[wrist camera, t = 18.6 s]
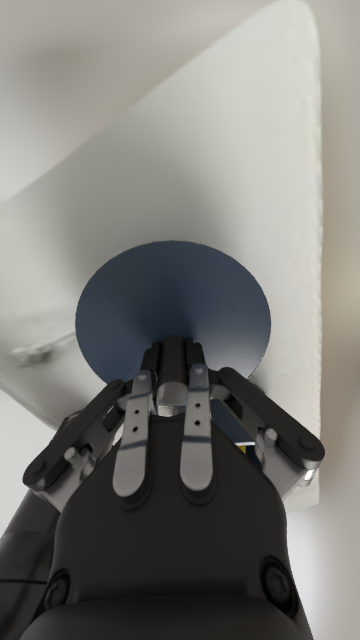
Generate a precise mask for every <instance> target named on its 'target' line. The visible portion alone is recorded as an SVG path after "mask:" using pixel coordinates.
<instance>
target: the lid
mask: <svg viewBox="0 0 360 640" xmlns="http://www.w3.org/2000/svg"><path fill="white" fill-rule="evenodd" d="M75 328H76V336H77V340H78V344H79V347H80V349H81V352H82V354H83V356H84V358H85V360H86V361H87V363H88V364H89V366H90V367H91V368H92V370H93V371H94V372H95V373H96V374H97V375H98V376H99V377H100V378H101V379H102V380H103V381H104V382H105V383H107V384H109V383H110V382H111V381H113V380H116V379H121V380H123V381H124V382H127V381H129V380H132V379H134V376H135V374H136V373H137V372H139V371H140V367H141V364H142V360H143V356H144V352H145V351H146V350H147V349H148V348H151V347H152V343H153V342H161V346H162V348H161V356H160V364H159V372H158V379H157V387H156V396H157V398H158V405H164V406H183V405H186V401H187V390H188V389H189V380H190V376H189V372H188V366H187V355H186V342H185V338H193V343H196V342H199V343H200V344H201V345H202V348H203V353H204V357H205V361H206V365H207V367H208V368H210V369H212V370H216V371H219V370H220V369H221V368H223V367H231V368H233V369H235V370H236V371H237V372H238V373H240V374H241V375H242V376H243V377H244V378H248V376H249V375H250V374H251V373H252V372H253V371H254V370H255V368H256V367H257V366H258V364H259V363H260V361H261V359H262V357H263V355H264V354H265V351H266V348H267V346H268V342H269V338H270V332H271V317H270V310H269V306H268V302H267V299H266V297H265V295H264V293H263V290H262V288H261V287H260V285H259V284H258V282H257V281H256V279H255V278H254V277H253V276H252V275H251V273H250V272H249V271H248V270H247V269H246V268H245V267H244V266H242V265H241V264H240V263H239V262H237V261H236V260H235V259H233V258H232V257H230V256H228V255H226V254H224V253H223V252H221V251H219V250H216V249H214V248H211V247H208V246H206V245H203V244H198V243H193V242H188V241H174V240H170V241H158V242H152V243H148V244H143V245H139V246H137V247H134V248H132V249H129V250H127V251H124V252H122V253H121V254H119V255H117V256H116V257H114V258H112V259H110V260H109V261H108V262H107V263H106V264H104V265H103V266H102V267H101V268H99V270H98V271H97V272H96V273H95V274H94V275H93V276H92V277H91V279H90V280H89V282H88V283H87V285H86V286H85V288H84V290H83V292H82V294H81V297H80V299H79V302H78V306H77V311H76V320H75ZM211 399H214V398H211V397H210V400H211Z"/></svg>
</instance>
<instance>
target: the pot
mask: <svg viewBox="0 0 360 640" xmlns="http://www.w3.org/2000/svg"><path fill="white" fill-rule="evenodd" d="M250 383H251V382H250ZM252 384H253V383H252ZM253 385H254V384H253ZM254 386H255V387H257V388H258V389H259V390H260V391H261V392H263V391H262V390H261V389H260V388H259V387H258V386H256V385H254ZM263 393H264V392H263ZM264 394H265V393H264ZM210 405H211V421H213V422H214V423H215V424H216V425H217V426H218V427H219V428H220V429H221V430H222V431H223V432H224V433H225V434H226V435H227V436H228V437H229V438H230V439H231V440H232V441H233V442H234V443H235V444H236V445H237V446H241V445H245V454H246V455H247V456H248V457H249V458H250V459H251V460H252V461H253V462H254V463H255V464H256V465H257V466H258V467H259V468H260V469H261V470H263V468H262V464H261V462H260V460H259V459H258V457H257V455H256V453H255V448H254V447H255V440H254V439H253V438H252V437H251V436H250V435H249V433H248V432H247V431H246V430H245V429H244V428H243V427H242V425H241V424H240V423H239V422H238V421H237V420H236V419H235V417H234V416H233V415H232V414H231V413H230V412H229V410H228V409H227V408H226V407H225V406H224V405H223V404H222V402H221V401H220V399H216V398H214V399H211V400H210ZM182 412H186V405H183V406H174V410H173V416H174V415H177V414H180V413H182Z"/></svg>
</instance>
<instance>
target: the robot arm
mask: <svg viewBox="0 0 360 640" xmlns="http://www.w3.org/2000/svg"><path fill="white" fill-rule="evenodd" d="M185 342H186V355H187V366H188V372H189V376H190V380H189V389H188V390H187V401H186V412H182V413H180V414H177V415H174V416H172V417H164V416H158V398H157V396H156V387H157V379H158V372H159V364H160V356H161V348H162V346H161V342H153V343H152V347H151V348H148V349H147V350H146V351H145V352H144V356H143V360H142V364H141V367H140V371H139V372H137V373H136V374H135V376H134V379H132V380H129V381H127V382H124V381H123V380H121V379H116V380H113V381H111V382H110V383H109V384H108V385H107V386H106V387H105V388H104V389H103V390H102V391H101V392H100V393H99V394H98V395H97V396H96V397H95V398H94V399H93V400H92V401H91V402H90V403H89V404H88V405H87V406H86V407H85V408H84V409H83V410H82V411H81V412H77V413H75V414H73V415H71V416H70V417H69V418H65V419H64V421H63V422H62V424H61V426H60V427H59V429H58V431H57V432H56V434H55V436H54V437H53V439H52V440H51V441H50V443H49V445H48V446H47V447H46V448H45V449H44V450H43V451H42V452H41V453H40V454H39V455H38V456H37V457H36V458H35V459H34V460H33V461H32V462H31V464H30V465H29V466H28V467H27V469H26V470H25V473H24V475H23V483H24V484H25V485H26V486H28V487H29V490H28V492H27V494H26V496H25V497H24V499H23V501H22V502H21V504H20V506H19V508H18V509H17V511H16V513H15V515H14V516H13V518H12V520H11V522H10V523H9V525H8V527H7V529H6V530H5V532H4V534H3V536H2V537H1V539H0V640H314V639H313V636H312V633H311V630H310V627H309V624H308V621H307V618H306V615H305V612H304V609H303V606H302V603H301V600H300V597H299V594H298V591H297V588H296V585H295V582H294V579H293V575H292V571H291V567H290V562H289V557H288V548H287V519H286V512H285V508H284V505H283V501H284V500H285V499H286V498H287V497H288V496H289V495H290V493H291V492H292V491H293V490H294V489H295V488H296V487H297V486H300V487H306V486H308V485H309V484H310V482H311V481H312V479H313V477H314V475H315V473H316V471H317V469H318V467H319V465H320V463H321V461H322V460H323V457H324V455H325V450H324V447H323V445H322V443H321V442H320V441H319V439H318V438H317V437H316V436H314V435H313V434H312V433H311V432H310V431H308V430H307V429H306V428H305V427H304V426H302V425H301V424H300V423H299V422H298V421H296V420H295V419H294V418H293V417H292V416H290V415H289V414H288V413H287V412H285V411H284V410H283V409H282V408H281V407H279V406H278V405H277V404H276V403H275V402H273V401H272V400H271V399H270V398H269V397H267V396H266V395H265V394H264V393H263V392H261V391H260V390H259V389H258V388H257V387H255V386H254V385H253V384H252V383H250V382H249V381H248V380H247V379H246V378H244V377H243V376H242V375H241V374H240V373H238V372H237V371H236V370H235V369H233V368H231V367H223V368H221V369H220V370H219V371H216V370H212V369H210V368H208V367H207V365H206V361H205V357H204V353H203V348H202V345H201V344H200V343H199V342H196V343H193V338H185ZM210 397H211V398H216V399H220V401H221V402H222V404H223V405H224V406H225V407H226V408H227V409H228V410H229V412H230V413H231V414H232V415H233V416H234V417H235V419H236V420H237V421H238V422H239V423H240V424H241V425H242V427H243V428H244V429H245V430H246V431H247V432H248V433H249V435H250V436H251V437H252V438H253V439H254V440H255V447H254V448H255V453H256V455H257V457H258V459H259V460H260V462H261V464H262V468H263V470H261V469H260V468H259V467H258V466H257V465H256V464H255V463H254V462H253V461H252V460H251V459H250V458H249V457H248V456H247V455H246V454H245V453H244V452H243V451H242V450H241V449H240V448H239V447H238V446H237V445H236V444H235V443H234V442H233V441H232V440H231V439H230V438H229V437H228V436H227V435H226V434H225V433H224V432H223V431H222V430H221V429H220V428H219V427H218V426H217V425H216V424H215V423H214V422H213V421H211V405H210ZM112 406H114V407H113V408H112V409H111V407H112ZM110 409H111V410H110ZM109 410H110V412H109V413H108V414H107V415H105V414H106V413H107V412H108V411H109ZM123 422H124V427H123V434H122V437H121V438H120V439H119V440H118V442H117V443H116V444H115V445H114V446H113V445H112V444H113V441H114V438H115V435H116V432H117V431H118V429H119V428H120V426H121V425H122V424H123Z"/></svg>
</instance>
